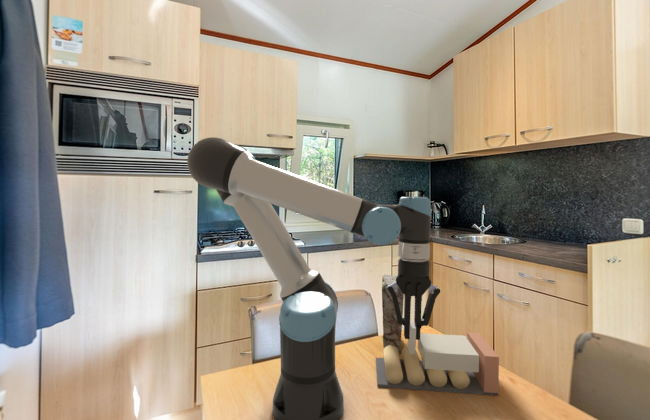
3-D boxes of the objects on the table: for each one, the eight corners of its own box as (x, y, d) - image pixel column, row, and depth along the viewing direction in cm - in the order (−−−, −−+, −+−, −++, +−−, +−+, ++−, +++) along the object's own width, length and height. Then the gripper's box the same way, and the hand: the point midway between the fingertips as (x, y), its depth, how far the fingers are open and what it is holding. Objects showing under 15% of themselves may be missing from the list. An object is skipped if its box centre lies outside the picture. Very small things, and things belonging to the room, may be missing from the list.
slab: (424, 368, 72) (425, 352, 72) (417, 347, 82) (417, 333, 82) (478, 372, 71) (479, 355, 70) (464, 350, 80) (465, 335, 80)
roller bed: (377, 386, 73) (377, 367, 73) (375, 359, 85) (375, 343, 85) (498, 395, 69) (498, 375, 69) (478, 366, 81) (479, 349, 81)
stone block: (406, 355, 87) (407, 285, 86) (382, 354, 88) (382, 285, 87) (399, 334, 100) (399, 273, 99) (377, 333, 101) (377, 273, 100)
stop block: (484, 394, 70) (484, 356, 69) (466, 365, 82) (467, 332, 81) (498, 395, 69) (499, 356, 69) (478, 366, 81) (479, 333, 81)
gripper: (388, 261, 73) (386, 356, 74) (444, 263, 72) (442, 361, 73) (386, 254, 81) (384, 342, 82) (437, 256, 79) (435, 345, 80)
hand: (411, 351), depth 77 cm, fingers closed
